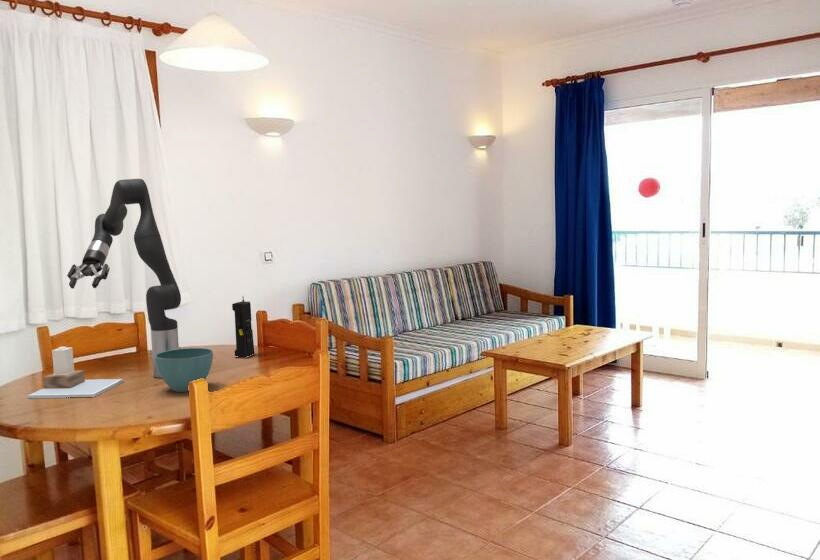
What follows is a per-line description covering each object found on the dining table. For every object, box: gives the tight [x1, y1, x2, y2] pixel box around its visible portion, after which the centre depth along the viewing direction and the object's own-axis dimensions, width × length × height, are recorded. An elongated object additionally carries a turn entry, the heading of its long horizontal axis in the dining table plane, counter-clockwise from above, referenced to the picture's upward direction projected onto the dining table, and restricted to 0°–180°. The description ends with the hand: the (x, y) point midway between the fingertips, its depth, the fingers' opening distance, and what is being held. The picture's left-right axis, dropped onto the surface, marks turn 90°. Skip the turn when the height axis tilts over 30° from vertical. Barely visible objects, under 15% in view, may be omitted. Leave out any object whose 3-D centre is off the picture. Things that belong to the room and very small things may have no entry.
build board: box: [26, 369, 124, 399], centre depth 216 cm, size 22×20×5 cm
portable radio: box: [231, 296, 255, 357], centre depth 263 cm, size 8×6×25 cm
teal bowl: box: [155, 347, 214, 393], centre depth 214 cm, size 18×18×12 cm
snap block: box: [51, 346, 75, 375], centre depth 219 cm, size 4×4×9 cm
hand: (82, 287), depth 240 cm, fingers open, 8 cm apart
